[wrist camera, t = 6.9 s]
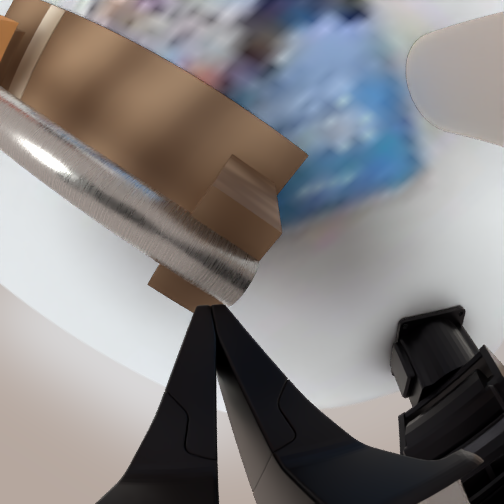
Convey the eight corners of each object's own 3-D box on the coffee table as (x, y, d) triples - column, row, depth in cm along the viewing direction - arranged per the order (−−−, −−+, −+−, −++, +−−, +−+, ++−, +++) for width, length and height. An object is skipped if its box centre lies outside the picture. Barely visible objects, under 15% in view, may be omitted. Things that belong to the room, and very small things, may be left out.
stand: (306, 153, 18) (337, 187, 11) (213, 271, 22) (190, 358, 14) (25, -6, 13) (-50, -22, 5) (-25, 105, 16) (-100, 123, 9)
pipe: (261, 244, 13) (261, 275, 11) (227, 286, 14) (221, 321, 12) (-61, 35, 8) (-88, 36, 5) (-73, 70, 9) (-100, 75, 6)
